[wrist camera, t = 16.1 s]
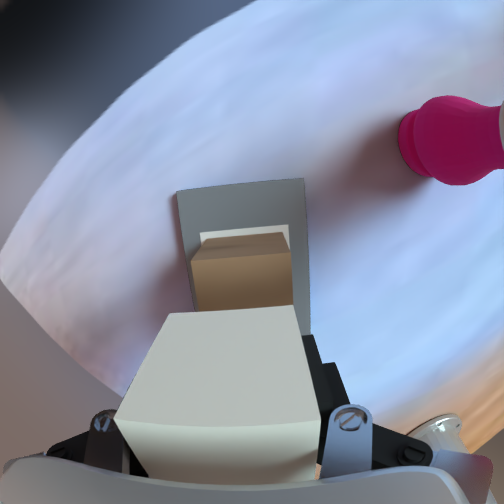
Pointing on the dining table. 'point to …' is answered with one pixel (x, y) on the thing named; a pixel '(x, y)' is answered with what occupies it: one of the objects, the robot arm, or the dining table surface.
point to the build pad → (251, 226)
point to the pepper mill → (453, 140)
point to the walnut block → (243, 272)
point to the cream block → (224, 400)
